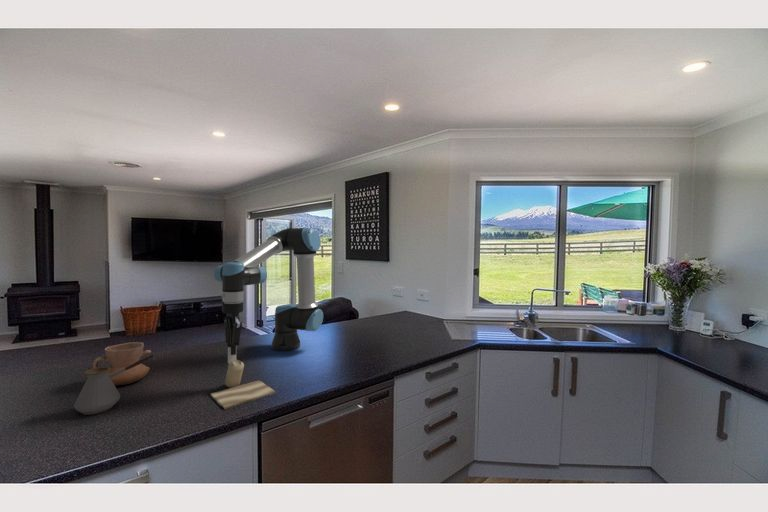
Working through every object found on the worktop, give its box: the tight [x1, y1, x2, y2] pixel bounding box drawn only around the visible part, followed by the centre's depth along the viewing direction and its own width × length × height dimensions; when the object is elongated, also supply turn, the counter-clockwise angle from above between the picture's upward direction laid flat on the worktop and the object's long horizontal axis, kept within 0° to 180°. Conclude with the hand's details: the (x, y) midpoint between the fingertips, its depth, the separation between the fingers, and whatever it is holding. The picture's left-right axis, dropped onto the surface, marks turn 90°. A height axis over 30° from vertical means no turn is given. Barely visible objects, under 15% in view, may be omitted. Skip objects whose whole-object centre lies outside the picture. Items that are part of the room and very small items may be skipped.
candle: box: [224, 359, 245, 388], centre depth 126 cm, size 6×6×10 cm
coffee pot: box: [73, 354, 156, 416], centre depth 111 cm, size 21×12×15 cm, turn 131°
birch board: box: [210, 380, 276, 410], centre depth 120 cm, size 14×18×1 cm
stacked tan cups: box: [92, 341, 152, 387], centre depth 129 cm, size 18×14×14 cm
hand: (232, 362), depth 127 cm, fingers closed
